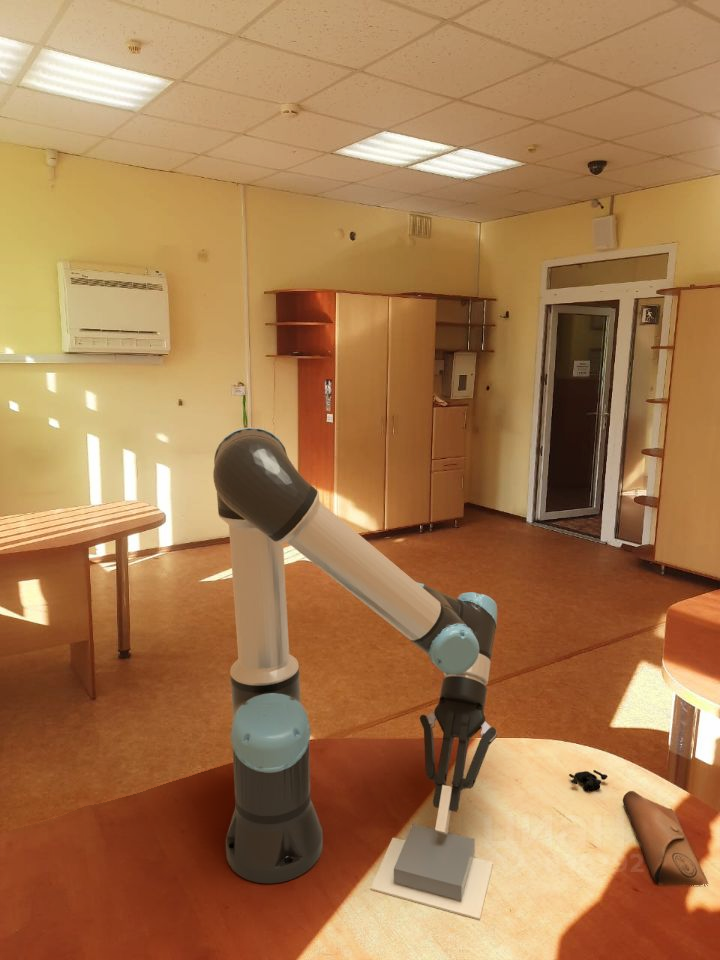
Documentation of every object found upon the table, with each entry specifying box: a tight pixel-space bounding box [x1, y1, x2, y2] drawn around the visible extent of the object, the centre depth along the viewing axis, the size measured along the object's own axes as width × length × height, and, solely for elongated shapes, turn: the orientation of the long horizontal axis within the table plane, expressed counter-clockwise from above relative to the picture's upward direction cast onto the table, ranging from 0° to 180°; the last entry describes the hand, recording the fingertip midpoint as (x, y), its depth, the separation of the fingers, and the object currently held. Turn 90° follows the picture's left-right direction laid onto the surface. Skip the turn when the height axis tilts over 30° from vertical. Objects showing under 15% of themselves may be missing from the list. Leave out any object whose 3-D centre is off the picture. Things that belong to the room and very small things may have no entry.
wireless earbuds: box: [568, 769, 608, 793], centre depth 123 cm, size 7×2×5 cm
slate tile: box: [394, 823, 476, 901], centre depth 103 cm, size 10×3×10 cm
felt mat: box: [369, 837, 494, 921], centre depth 102 cm, size 16×11×1 cm
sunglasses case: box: [622, 790, 709, 887], centre depth 109 cm, size 18×7×7 cm
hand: (441, 832), depth 105 cm, fingers closed
